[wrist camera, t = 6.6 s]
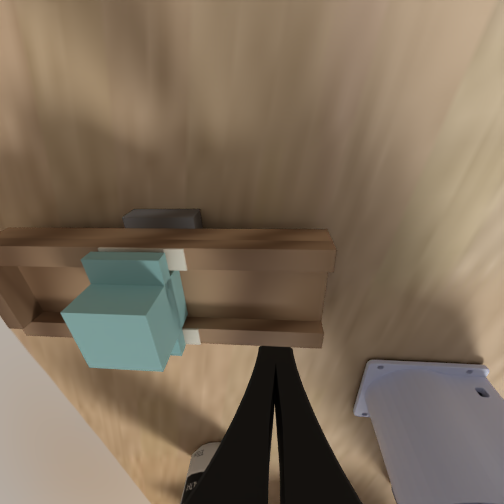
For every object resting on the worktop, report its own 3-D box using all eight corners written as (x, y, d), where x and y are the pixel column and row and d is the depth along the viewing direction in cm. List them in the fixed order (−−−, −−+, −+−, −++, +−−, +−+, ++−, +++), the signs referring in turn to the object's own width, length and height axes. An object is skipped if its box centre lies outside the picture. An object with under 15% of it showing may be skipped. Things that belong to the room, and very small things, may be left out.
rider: (173, 241, 14) (137, 288, 10) (191, 330, 17) (169, 389, 14) (104, 240, 14) (46, 285, 11) (135, 328, 18) (98, 385, 14)
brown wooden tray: (324, 208, 15) (341, 242, 11) (312, 312, 20) (321, 364, 16) (24, 209, 17) (-53, 239, 13) (71, 304, 21) (23, 349, 17)
